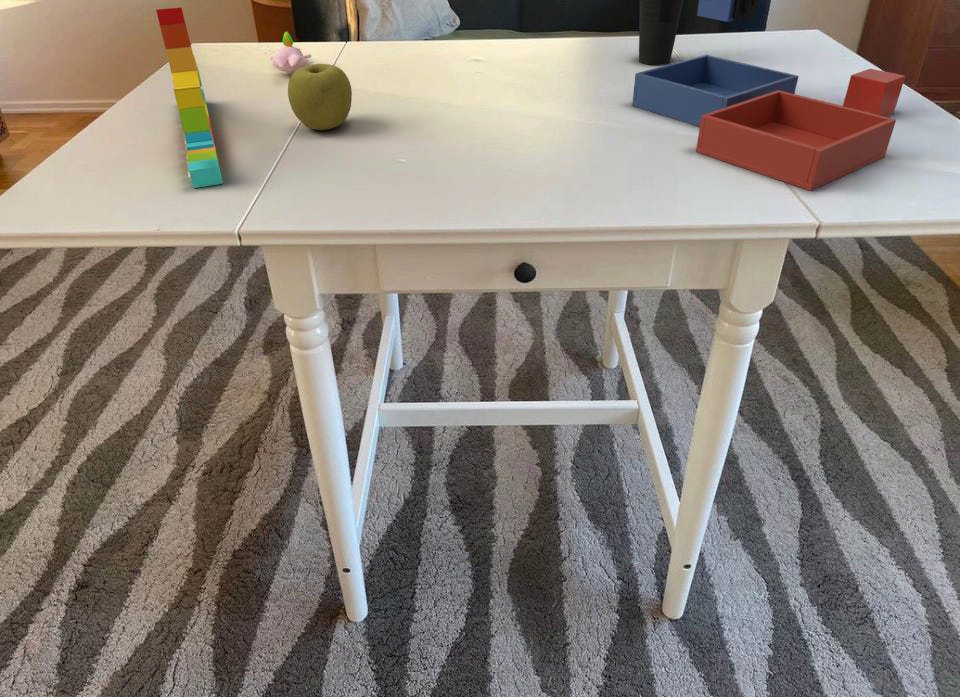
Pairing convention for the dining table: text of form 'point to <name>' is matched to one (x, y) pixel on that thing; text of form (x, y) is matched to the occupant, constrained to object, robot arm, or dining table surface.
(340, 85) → the apple
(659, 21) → the drinking cup
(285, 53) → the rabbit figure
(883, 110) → the red block
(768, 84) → the blue bin
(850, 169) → the red bin
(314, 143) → the dining table surface
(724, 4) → the blue block
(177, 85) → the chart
